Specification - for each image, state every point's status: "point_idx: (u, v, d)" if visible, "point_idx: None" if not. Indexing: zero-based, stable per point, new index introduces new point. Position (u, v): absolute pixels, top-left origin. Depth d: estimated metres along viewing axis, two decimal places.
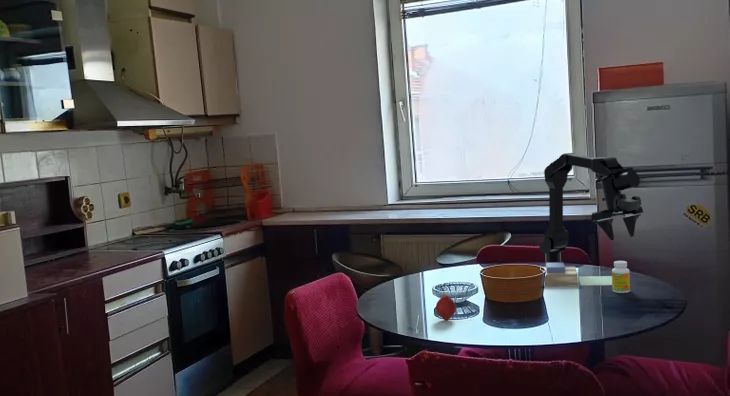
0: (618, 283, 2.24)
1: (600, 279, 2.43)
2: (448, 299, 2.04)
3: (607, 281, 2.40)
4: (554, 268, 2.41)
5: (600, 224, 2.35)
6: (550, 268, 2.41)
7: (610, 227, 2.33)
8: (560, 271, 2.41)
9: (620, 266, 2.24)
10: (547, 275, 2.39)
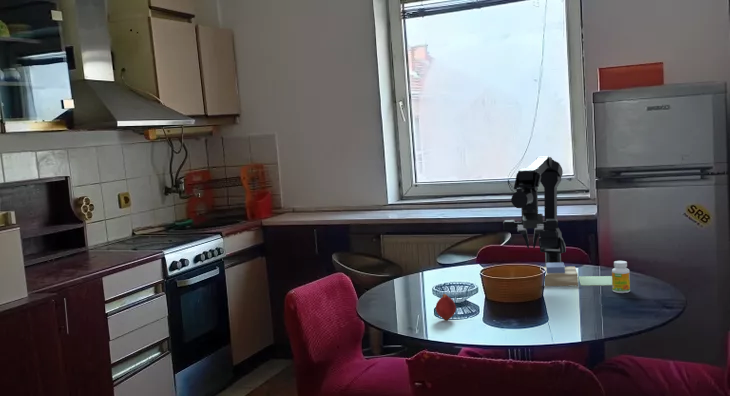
0: (618, 283, 2.24)
1: (600, 279, 2.43)
2: (448, 299, 2.04)
3: (607, 281, 2.40)
4: (554, 268, 2.41)
5: None
6: (550, 268, 2.41)
7: (525, 237, 2.45)
8: (560, 271, 2.41)
9: (620, 266, 2.24)
10: (547, 275, 2.39)
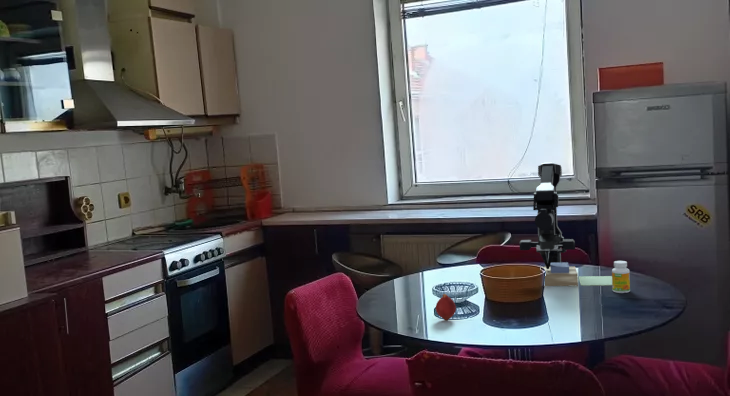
0: (618, 283, 2.24)
1: (600, 279, 2.43)
2: (448, 299, 2.04)
3: (607, 281, 2.40)
4: (558, 268, 2.41)
5: None
6: (554, 268, 2.41)
7: (544, 257, 2.44)
8: (564, 271, 2.40)
9: (620, 266, 2.24)
10: (547, 275, 2.39)
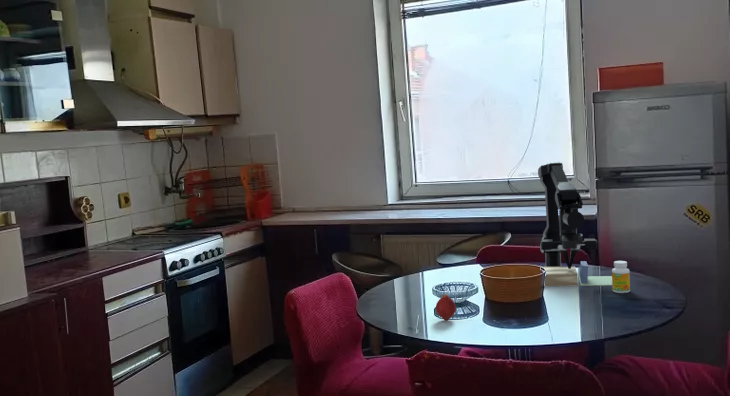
0: (618, 283, 2.24)
1: (600, 279, 2.43)
2: (448, 299, 2.04)
3: (607, 281, 2.40)
4: (586, 273, 2.39)
5: None
6: (586, 269, 2.38)
7: (566, 257, 2.42)
8: (583, 278, 2.39)
9: (620, 266, 2.24)
10: (547, 275, 2.39)
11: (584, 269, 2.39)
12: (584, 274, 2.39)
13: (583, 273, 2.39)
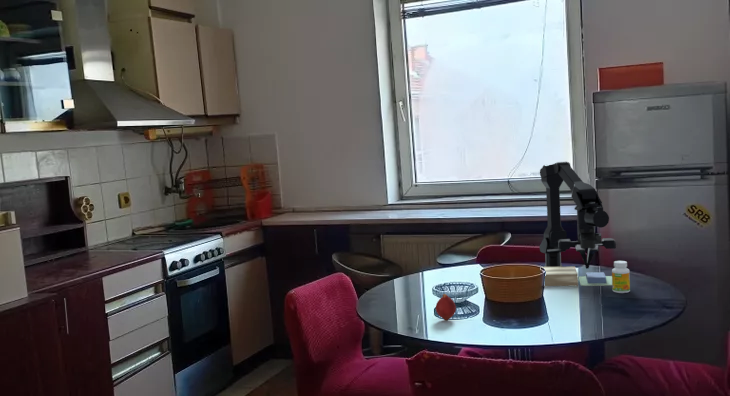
0: (618, 283, 2.24)
1: None
2: (448, 299, 2.04)
3: (607, 281, 2.40)
4: (598, 281, 2.38)
5: None
6: (602, 282, 2.38)
7: (584, 256, 2.41)
8: (592, 278, 2.38)
9: (620, 266, 2.24)
10: (547, 275, 2.39)
11: (602, 279, 2.38)
12: (596, 280, 2.38)
13: (597, 279, 2.38)
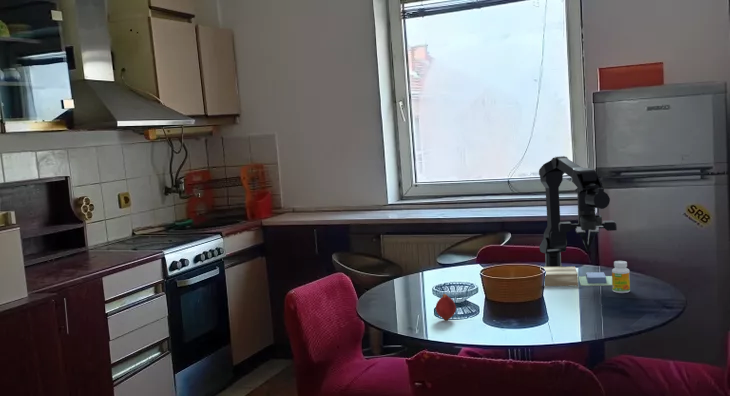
0: (618, 283, 2.24)
1: None
2: (448, 299, 2.04)
3: (607, 281, 2.40)
4: (598, 281, 2.38)
5: None
6: (602, 282, 2.38)
7: (584, 239, 2.40)
8: (592, 278, 2.38)
9: (620, 266, 2.24)
10: (547, 275, 2.39)
11: (602, 279, 2.38)
12: (596, 280, 2.38)
13: (597, 279, 2.38)
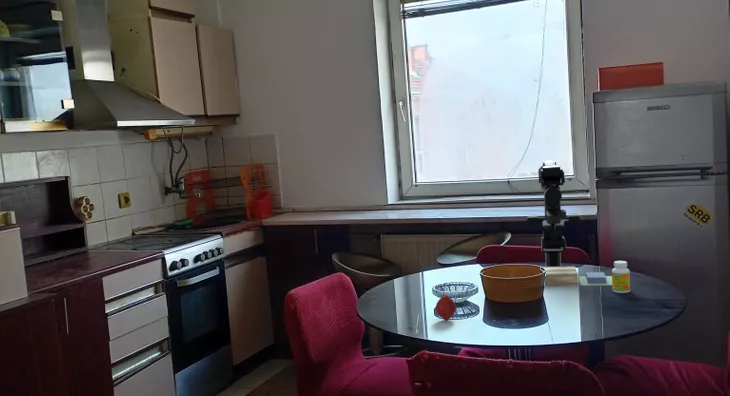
0: (618, 283, 2.24)
1: None
2: (448, 299, 2.04)
3: (607, 281, 2.40)
4: (598, 281, 2.38)
5: None
6: (602, 282, 2.38)
7: (550, 232, 2.52)
8: (592, 278, 2.38)
9: (620, 266, 2.24)
10: (547, 275, 2.39)
11: (602, 279, 2.38)
12: (596, 280, 2.38)
13: (597, 279, 2.38)
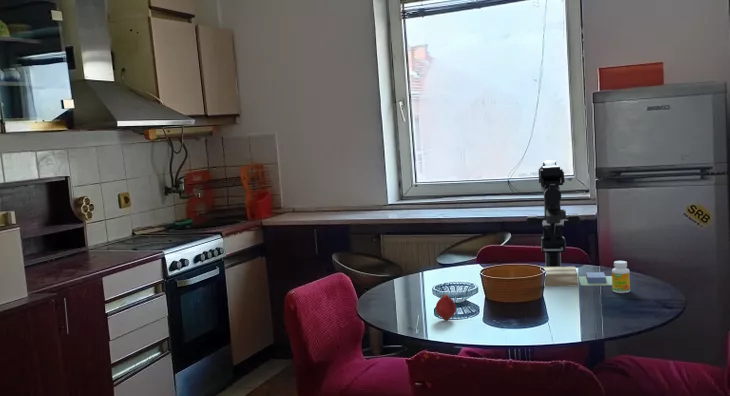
0: (618, 283, 2.24)
1: None
2: (448, 299, 2.04)
3: (607, 281, 2.40)
4: (598, 281, 2.38)
5: None
6: (602, 282, 2.38)
7: (550, 232, 2.52)
8: (592, 278, 2.38)
9: (620, 266, 2.24)
10: (547, 275, 2.39)
11: (602, 279, 2.38)
12: (596, 280, 2.38)
13: (597, 279, 2.38)
